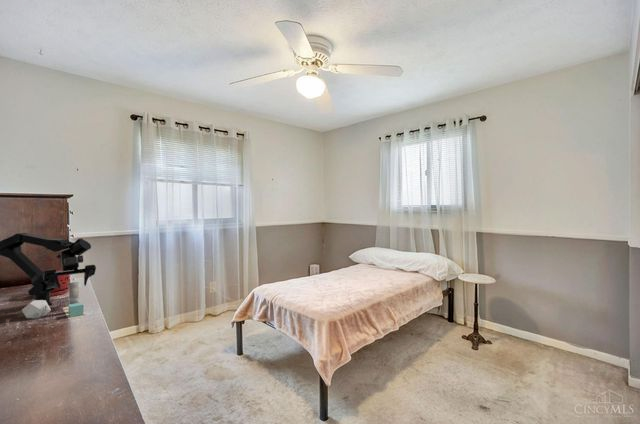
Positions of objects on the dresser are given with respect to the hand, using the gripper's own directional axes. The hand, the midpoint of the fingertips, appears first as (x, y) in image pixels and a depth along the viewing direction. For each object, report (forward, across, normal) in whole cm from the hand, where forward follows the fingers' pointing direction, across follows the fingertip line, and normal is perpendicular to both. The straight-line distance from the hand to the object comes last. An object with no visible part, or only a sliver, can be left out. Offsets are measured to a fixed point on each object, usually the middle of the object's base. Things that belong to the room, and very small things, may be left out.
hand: (72, 287), depth 136 cm
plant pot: (-22, -3, +38) cm, 44 cm away
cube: (+15, 0, -1) cm, 15 cm away
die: (+8, -12, +8) cm, 17 cm away
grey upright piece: (+11, 0, +4) cm, 12 cm away
